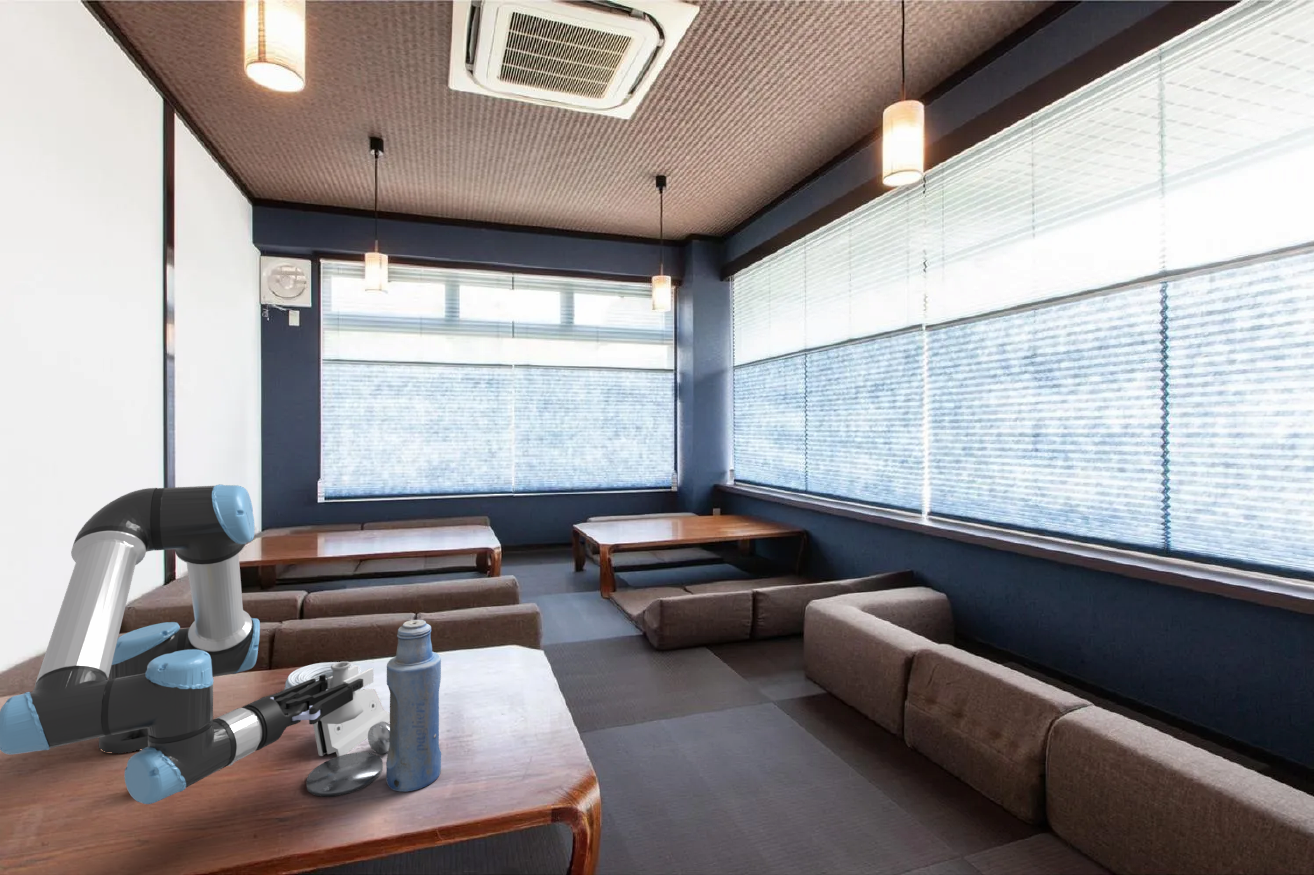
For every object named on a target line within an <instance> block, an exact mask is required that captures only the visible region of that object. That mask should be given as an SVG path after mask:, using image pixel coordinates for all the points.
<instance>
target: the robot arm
mask: <svg viewBox="0 0 1314 875" xmlns="http://www.w3.org/2000/svg"><path fill="white" fill-rule="evenodd" d="M253 513H254V510H253V504H252V500H251V496H250V494H249V492H248V490H247V489H246V488H245V487H243V486H241V485H238V484H237V485H235V484H233V485H230V484H229V485H228V484H216V485H203V486H202V485H201V486H200V485H199V486H178V487H175V486H174V487H160V488H159V487H150V488H149V487H147V488H142V489H138V490H137V489H136V490H134V491H131V492H129V493H126V494H124V495H121V496H119V497H118V498H115V499H114V500H112V501H110V502H109V503H107V504H105V505H104V506H103V507H101V508H100V509H99V510H98V511H96V512H95V513H94V514H93V515H92V516H91V517H90V518H89V519H88V520H87V521H86V522H85V523H84V525H83V526H82V527H81V529H80V530H79V531H78V533H77V535H76V536H75V539H74V542H73V545H72V548H71V550H70V552H71V553H70V555H71V558H72V560H73V561H74V562H75V564H74V566H73V567H74V568H73V570H72V573H71V576H70V579H69V582H68V585H67V588H66V591H65V594H64V597H63V599H62V600H63V601H62V603H61V605H60V606H61V607H60V609H59V612H58V615H57V618H56V621H55V624H54V626H53V629H52V632H51V635H50V640H49V642H48V645H47V648H46V651H45V654H44V657H43V659H42V663H41V666H40V669H39V671H38V675H37V677H36V681H35V684H34V688H33V690H32V691H31V692H30V691H27V692H24V693H22V694H17V695H13V696H11V697H9V698H8V699H7V700H6V701H5V702H4V704H3V705H2V706H1V708H0V751H1V752H2V753H3V754H5V755H12V756H13V755H19V754H25V753H32V752H39V751H49V750H50V749H53V748H57V747H61V746H67V745H72V744H75V743H81V742H85V741H91V740H93V739H98V749H99V748H100V749H102V750H103V751H105V752H112V753H118V754H126V752H128V753H133V752H132V751H134V752H136V753H134V754H133V755H132V756H131V757H130V758H129V759H128V760H127V763H126V767H125V769H124V782H125V786H126V789H127V791H128V793H129V794H130V797H132V799H133V800H135V801H136V802H137V803H141V804H142V805H143V804H144V805H153V804H155V803H157V802H159V801H161V800H164V799H165V798H168V797H170V796H173V795H175V794H177V793H181V792H183V791H184V790H185V789H187V788H189V787H190V786H193V785H194V784H196V783H198V782H200V781H201V780H203V779H204V778H207V777H208V776H211V775H212V774H215V773H216V772H218V771H220V770H222V769H224V768H226V767H231V766H232V765H234V763H236V762H238V761H240V760H242V759H243V758H245V757H247V756H249V755H251V754H253V753H255V752H257V751H259V750H261V749H263V748H265V747H267V746H269V745H271V744H273V743H274V742H275V743H276V742H277V741H278V740H279V739H280V738H281V737H282V735H283V734H284V732H285V731H286V729H287V728H288V727H291V726H293V725H294V726H295V725H297V724H299V723H301V721H308V724H309V725H313V724H315V723H317V722H318V721H319V720H320V719H321V718H322V717H324V716H326V715H328V714H329V713H331V712H333V711H335V710H336V709H338V708H340V707H342V706H343V705H345V704H347V703H349V702H350V701H352V700H353V692H355V691H357V690H359V689H361V688H363V689H364V688H365V687H367V686H368V685H371V684H374V668H372V667H371V668H368V669H365V670H363V671H361V673H359V674H358V665H357V666H353V667H351V668H349V676H350V678H349V679H346V680H344V681H343V684H341V685H339V686H336V687H334V688H331V689H330V687H331V682H332V677H333V676H331V677H329V678H327V679H326V675H320V676H319V680H318V681H316V679H310V680H308V681H305V682H303V683H300V684H298V685H295V686H293V687H291V688H288V689H286V690H284V689H283V690H281V691H278V692H276V693H274V694H270V695H266V696H263V697H261V698H258V699H257V700H254V701H252V702H250V703H247V704H245V705H243V706H241V707H238V708H235V709H233V710H231V711H229V712H226V713H224V714H222V715H220V716H218V717H215V718H214V678H216V677H221V676H227V675H236V674H238V673H241V672H245V671H249V670H251V669H252V668H254V667H255V665H256V663H257V659H258V653H259V652H258V651H259V643H260V637H261V636H260V634H261V633H260V632H261V623H260V620H259V618H254V617H251V616H250V614H249V613H248V612H247V611H246V610H244V608H243V607H244V606H243V595H242V594H243V593H242V581H241V580H242V579H241V569H240V566H241V565H240V555H239V554H240V553H241V552H242V551H243V550H244V548H245V547H246V545H247V543H251V542H252V541H253V540H254V537H255V518H254V514H253ZM166 550H173V551H174V553H175V555H176V556H177V558H178V559H179V560H181V561H182V562H184V563H186V567H187V568H186V569H187V574H188V576H187V577H188V582H189V588H190V590H189V591H190V595H191V603H192V608H193V617H194V621H193V622H192V624H191V625H190V627H185V628H184V627H183V628H181V626H180V625H179V623H178V622H177V621H176V622H175V621H171V622H167V621H166V622H161V623H156V624H150V625H148V626H143V627H141V628H138V629H134V630H131V631H129V632H127V633H124V634H123V635H121V636H119V635H120V631H121V626H122V622H123V618H124V615H125V614H124V613H125V610H126V606H127V601H128V598H129V593H130V589H131V585H132V581H133V576H134V573H135V569H136V566H137V565H138V564H140V563H141V562H142V561H143V560H144V558H146V557H145V556H146V553H148V552H152V551H166ZM308 685H309V686H308ZM327 689H328V690H327ZM100 749H99V750H100ZM140 749H142V750H140ZM136 750H139V751H136ZM105 752H104V753H105ZM123 752H125V753H123ZM112 753H111V754H112Z"/></svg>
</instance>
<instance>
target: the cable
mask: <svg viewBox="0 0 1314 875" xmlns="http://www.w3.org/2000/svg"><path fill="white" fill-rule="evenodd" d="M335 663H339V661H338V662H337V661H333V662H332V661H330V662H319V663H313V664H309V665H305V666H301V667H299V668H297V669H295V670H293V671H292V672H290V674H289V675H288V677H287V679H286V680H285V683H284V685H285V686H284V688H283V690H286V689H288V688H291V687H293V686H295V685H298V684H300V683H303V682H305V681H308V680H310V679H316V681H318V680H319V676H320V675H326V679H327V678H329V677H331V676H333V670H332V669H331V666H332V665H333V664H335ZM353 666H358V665H357V664H354V663H351V666H350V667H349V668H351V667H353ZM361 672H362V668H361V667H360V666H358V674H359V673H361ZM308 686H309V685H308ZM363 689H364V687H363V688H361V689H359V690H363ZM327 690H328V689H327ZM359 690H357V691H359Z"/></svg>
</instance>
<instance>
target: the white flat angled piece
mask: <svg viewBox="0 0 1314 875" xmlns="http://www.w3.org/2000/svg"><path fill="white" fill-rule="evenodd" d="M355 694H356V696H357V698H358V700H359V702H360V704H361V707H362V709H363V712H362V713H361V714H360V715H358V716H357V717H356V718H355V719H352V720H349V721H346V722H343V723H341V724H324V723H323V722H322V721H321V720H319V721H318V722H317V723H315V724H312V726H313V731H314V737H315V742H316V748H317V753H318V756H320V757H323V756H324V755H326V754H327V755H330V754H333V753H336V757H338V756H341V755H345V754H349V752H350V751H352V750H354V749H355V748H357V746H359V745H360V744H362V743H363V742H364V741H366V740H368V732H369V729H370V728H371V727H372V726H373V725H375V724H377V723H378V722H381V721H383V722H387V723H388V724H390V712H388V711H387V710H385V708H384V706H383V704H382V701H381V700H380V697H379V694H378V692H377V690H376V688H365V689H364V688H363V689H362V690H359V691H355ZM361 742H362V743H361Z"/></svg>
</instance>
